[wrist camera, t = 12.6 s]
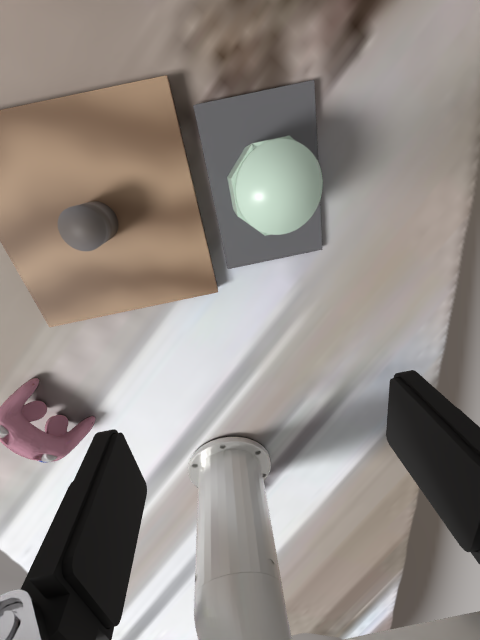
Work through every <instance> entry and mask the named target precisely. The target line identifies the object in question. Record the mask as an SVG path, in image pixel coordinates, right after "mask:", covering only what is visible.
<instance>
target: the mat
mask: <svg viewBox="0 0 480 640" xmlns="http://www.w3.org/2000/svg"><path fill="white" fill-rule="evenodd" d="M193 107H194V111H195V116H196V121H197V125H198V130H199V135H200V140H201V144H202V149H203V154H204V159H205V163H206V168H207V173H208V178H209V182H210V187H211V192H212V197H213V201H214V206H215V211H216V215H217V220H218V225H219V230H220V234H221V239H222V244H223V249H224V253H225V258H226V263H227V268H228V269H231V268H236V267H240V266H245V265H250V264H255V263H260V262H264V261H269V260H274V259H279V258H284V257H288V256H293V255H298V254H303V253H308V252H312V251H317V250H322V231H321V210H320V202H319V204H318V207H317V209H316V211H315V212H314V214H313V215H312V217H311V218H310V219H309V220H308V221H307V222H306V223H305V224H304V225H303V226H301V227H300V228H298V229H296V230H295V231H292V232H290V233H286V234H281V235H272V234H271V235H266V236H264V235H263V234H262V233H261V232H259V231H258V230H256V229H255V228H254V227H252V226H251V225H249V224H248V223H247V222H245V221H244V220H242V219H241V218H240V217H238V216H237V215H236V213H235V211H234V210H233V206H232V200H231V195H230V189H229V184H228V178H227V177H228V175H229V173H230V172H231V170H232V168H233V167H234V165H235V163H236V162H237V160H238V158H239V157H240V155H241V153H242V152H243V150H244V148H245V147H247V146H248V145H250V144H252V143H257V142H261V141H266V140H271V139H276V138H281V137H285V136H291V137H292V138H293V139H294V140H295V141H297V142H299V143H301V144H303V145H304V146H305V147H307V148H308V149H309V150H310V151H311V152H312V153H313V155H314V156H315V157H316V159H317V160H318V148H317V127H316V107H315V86H314V80H311V81H307V82H302V83H297V84H292V85H287V86H283V87H278V88H273V89H268V90H263V91H259V92H254V93H249V94H244V95H239V96H235V97H230V98H225V99H220V100H215V101H211V102H206V103H201V104H196V105H193Z"/></svg>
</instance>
